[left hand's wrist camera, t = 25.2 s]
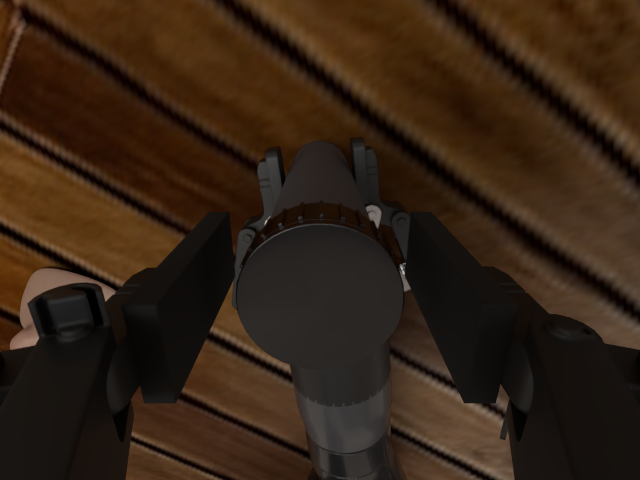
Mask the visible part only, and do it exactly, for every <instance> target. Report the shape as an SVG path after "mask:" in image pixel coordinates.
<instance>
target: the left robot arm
mask: <svg viewBox="0 0 640 480" xmlns="http://www.w3.org/2000/svg"><path fill="white" fill-rule="evenodd" d="M234 278H235V267H234V256H233V246H232V236H231V226H230V216H229V212H209V213H208V214H207V215H206V216H205V217H204V218H203V219H202V220H201V221H200V222H199V223H198V224H197V225H196V227H195V228H194V229H193V230H192V231H191V232H190V233H189V234H188V235H187V236H186V237H185V238H184V239H183V240H182V241H181V242H180V243H179V245H178V246H177V247H176V248H175V249H174V250H173V251H172V252H171V253H170V254H169V255H168V256H167V257H166V258H165V259H164V260H163V261H162V263H161V264H160V265H159V266H158V267H157V268H146V269H144V270H142V271H140V272H138V273H137V274H135V275H133V276H132V277H130V278H129V279H128V280H127V281H126V282H125V283H124V284H123V287H120V288H119V289H118V290H117V291H116V292H115V294H113V295H112V296H111V297H110V298H109V299H108V300H107V301H106V302H105V298H104V294H103V290H102V287H101V286H99V285H98V284H96V283H88V282H83V283H72V284H67V285H63V286H59V287H56V288H53V289H50V290H47V291H45V292H43V293H41V294H39V295H37V296H36V297H34V298H33V299H32V300H31V301H30V302H28V303H27V305H28V308H29V311H30V314H31V316H32V319H33V322H34V325H35V328H36V331H37V333H38V336H39V339H38V341H37V343H36V344H35V345H34V346H29V347H23V348H18V349H12V350H7V351H2V352H1V351H0V480H125V478H126V471H127V463H128V456H129V448H130V441H131V433H132V426H133V418H134V412H133V406H132V403H131V398H132V396H133V395H134V393H135V392H136V390H137V388H138V387H139V385H140V387H141V392H142V396H143V400H144V403H176V402H177V400H178V397H179V395H180V393H181V391H182V389H183V387H184V385H185V382H186V380H187V378H188V376H189V374H190V372H191V370H192V368H193V365H194V363H195V361H196V359H197V357H198V355H199V353H200V350H201V348H202V346H203V344H204V342H205V340H206V338H207V335H208V333H209V331H210V329H211V327H212V325H213V323H214V320H215V318H216V316H217V314H218V312H219V310H220V308H221V305H222V303H223V301H224V299H225V297H226V295H227V293H228V291H229V288H230V286H231V284H232V282H233V280H234ZM405 278H406V280H407V282H408V284H409V286H410V288H411V291H412V293H413V295H414V297H415V299H416V301H417V303H418V305H419V308H420V310H421V312H422V314H423V316H424V318H425V320H426V323H427V325H428V327H429V329H430V331H431V333H432V335H433V338H434V340H435V342H436V344H437V346H438V348H439V350H440V353H441V355H442V357H443V359H444V361H445V363H446V365H447V368H448V370H449V372H450V374H451V376H452V378H453V380H454V382H455V385H456V387H457V389H458V391H459V393H460V395H461V397H462V400H463V402H464V403H496V400H497V396H498V392H499V387H500V383H501V385H502V387H503V388H504V390H505V391H506V393H507V395H508V396H509V398H510V399H509V403H508V406H507V410H506V414H505V418H504V422H503V426H502V430H501V435H500V439H503V440H505V439H506V435H507V432H509V440H510V447H511V455H512V462H513V470H514V477H515V480H640V350H637V349H632V348H626V347H621V346H615V345H610V344H605V343H604V342H603V340H602V338H601V337H600V336H599V335H598V334H597V333H596V331H595V330H593V329H592V328H590V327H589V326H587V325H585V324H584V323H582V322H579V321H577V320H575V319H572V318H569V317H565V316H561V315H557V314H549V313H548V312H547V311H546V310H545V309H544V308H542V307H541V306H540V305H539V304H538V303H537V302H536V301H535V300H534V299H533V298H532V297H531V296H530V295H529V294H528V293H525V290H524V289H523V288H522V287H521V286H519V285H517V283H516V282H515V281H514V280H513V279H512V278H511V277H510V276H509V275H508V274H506V273H504V272H502V271H500V270H498V269H497V268H495V267H482V266H481V265H480V264H479V263H478V261H477V260H476V259H475V258H474V257H473V256H472V255H471V254H470V253H469V252H468V251H467V250H466V249H465V248H464V247H463V246H462V245H461V243H460V242H459V241H458V240H457V239H456V238H455V237H454V236H453V235H452V234H451V233H450V232H449V231H448V230H447V229H446V228H445V227H444V225H443V224H442V223H441V222H440V221H439V220H438V219H437V218H436V217H435V216H434V215H433V214H432V213H431V212H411V216H410V226H409V236H408V246H407V256H406V267H405Z"/></svg>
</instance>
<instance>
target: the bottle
mask: <svg viewBox="0 0 640 480" xmlns="http://www.w3.org/2000/svg"><path fill="white" fill-rule="evenodd" d="M320 200H323V203H333V204H338V205H339V203H342V204H343V206H345V207H348V208H351V209H353V210H355V211H356V210H357V209H358V210H360V213H361V214H362V215H363V216H365V217H366V218H367V219H369V220H370V217H369V215H368V212H367V210H366V207H365V205H364V203H363V200H362V198H361V195H360V193H359V190H358V188H357V185H356V183H355V180H354V178H353V175H352V173H351V170H350V168H349V165H348V163H347V161H346V158H345V156H344V154H343V153H342V151H341V150H340V149H339V148H338V147H337V146H335V145H333V144H331V143H329V142H325V141H315V142H311V143H309V144H307V145H305V146H303V147H302V148H301V149H300V150H299V151H298V153H297V154H296V156H295V158H294V160H293V163H292V165H291V168H290V170H289V173H288V175H287V178H286V180H285V183H284V185H283V188H282V190H281V193H280V195H279V198H278V200H277V202H276V205H275V207H274V210H273V212H272V215H271V217H270V218H271V219H272V218H274V217H275V216H277V215H278V214H280V213H281V212H282V210H283V209H284V208H286V209H289V208H292V207H295V206H298V205H300V204H301V202H304V204H307V203H317V202H320ZM370 221H371V220H370Z"/></svg>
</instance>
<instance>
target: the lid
mask: <svg viewBox="0 0 640 480" xmlns="http://www.w3.org/2000/svg"><path fill="white" fill-rule="evenodd" d="M239 268H242V269H241V271H240V274H239V277H238V280H237V282H236V285H237V286H236V306H237V311H238V314H239V317H240V320H241V322H242V324H243V326H244V328H245V330H246V332H247V333H248V335H249V336H250V337H251V339H252V340H253V341H254V342H255V343H256V344H257V345H258V346H259V347H260V348H261V349H263V350H264V351H265V352H267V353H268V354H269V355H271V356H272V357H274V358H276V359H278V360H280V361H282V362H285V363H288V364H290V365H294V366H298V367H302V368H309V369H331V368H338V367H342V366H346V365H350V364H352V363H355V362H358V361H360V360H362V359H364V358H366V357H367V356H369V355H371V354H372V353H373V352H375V351H376V350H377V349H379V348H380V347H381V346H382V345H383V344H384V343H385V342H386V341H387V340H388V339H389V337H390V336H391V335H392V333H393V332H394V330H395V328H396V326H397V324H398V322H399V320H400V317H401V314H402V311H403V305H404V285H403V281H402V277H401V274H400V271H401V267H400V265H399V263H398V261H397V259H396V257H395V254H394V252H393V250H392V248H391V246H390V244H389V241H388V239H387V237H386V235H385V234H384V233H383V234H381V232H380V231H379V229H378V228H377V226H376V224H375V222H374V221H373V220H371V221H370V220H369V219H367V218H366V217H365V216H363V215H362V214H361V213H360V210H358V209H357V210H356V211H355V210H353V209H351V208H348V207H345V206H343V204H342V203H339V205H338V204H333V203H323V200H320V202H317V203H307V204H304V202H301V204H300V205H298V206H295V207H292V208H289V209H286V208H284V209H283V210H282V212H281V213H280V214H278V215H277V216H275V217H274V218H272V219H271V218H269V219H268V220H267V222H266V225H265V226H264V227H263V228H262V229H261V231H260V232H259V231H257V232H256V234H255V236H254V238H253V240H252V242H251V244H250V246H249V247H248V249H247V252H246V254H245V256H244V258H243V260H242V262H241V264H240V267H239Z"/></svg>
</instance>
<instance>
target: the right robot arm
mask: <svg viewBox="0 0 640 480" xmlns="http://www.w3.org/2000/svg"><path fill="white" fill-rule="evenodd" d="M350 149H351V161H352V173H353V178H354V180H355V183H356V185H357V188H358V190H359V193H360V195H361V198H362V200H363V203H364V205H365V207H366V210H367V212H368V215H369V217H370V220H373V221H374V222H375V224H376V226H377V228H378V226H379V224H381V225H386V226H390V227H391V229H392V232H393V235H394V237H395V240H396V243H397V245H398V248H399V251H400V253H401V256H402V258H399V259H398V260H397V261H398V263H399V265H400V267H401V271H400V274H401V277H402V281H403V285H404V292H405V291H408V290H411V288H410V286H409V284H408V282H407V280H406V278H405V267H406V256H407V246H408V236H409V226H410V216H409V214H408V213H407V212H406V210H405V209H404V208H403V206H402V205H401V204H400V203H399V202H396V201H394V202H388V201H384V200H382V199H380V198H379V182H378V164H377V156H376V154H375V152H374V150H373V148H372V147H371V146H365V143H364V139H363V138H362V137H357V138H350ZM265 157H266V158H262V159H261V161H260V162H259V164H258V169H257V174H258V179H259V185H260V190H261V195H262V201H263V206H264V213H262V214H260V215H258V216H256V217H250V218H248V219H247V221H246V222H245V224H244V227H243V228H242V229H241V231H240V232H239V234H238V241H237V252H236V263H235V278H234V284H233V294H232V306H233V307H234V308H235V309H236V310H237V306H236V286H237V285H236V282H237V280H238V277H239V274H240V271H241V269H242V268H239V267H240V264H241V262H242V260H243V258H244V256H245V254H246V252H247V249H248V247H249V246H250V244H251V242H252V240H253V238H254V236H255V234H256V232H257V231H259V232H260V231H261V229H262V228H263V227H264V226H265V225H266V222H267V220H268V219H269V218H270V217H271V215H272V212H273V210H274V207H275V205H276V202H277V200H278V198H279V195H280V193H281V190H282V188H283V185H284V183H285V180H286V179H285V172H284V166H283V160H282V153H281V148H280V146H279V147H271V148H268V149H267V150H266V151H265ZM290 367H291V373H292V378H293V384H294V389H295V394H296V400H297V404H298V408H299V411H300V414H301V417H302V419H303V422H304V425H305V430H306V436H307V441H308V448H309V453H310V458H311V461H312V464H313V468H312V470H311V471H310V473H309V475H308V478H307V480H407V478H406V476H405V473H404V471H403V469H402V467H401V464H400V462H399V460H398V457H397V455H396V452H395V450H394V448H393V446H392V445H391V425H390V408H391V400H392V387H391V368H390V349H389V339H388V340H387V341H386V342H385V343H384V344H383V345H382V346H381V347H380V348H379V349H377V350H376V351H375V352H373V353H372V354H371V355H369V356H367V357H366V358H364V359H362V360H360V361H358V362H355V363H352V364H350V365H346V366H342V367H338V368H331V369H309V368H302V367H298V366H294V365H290Z"/></svg>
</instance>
